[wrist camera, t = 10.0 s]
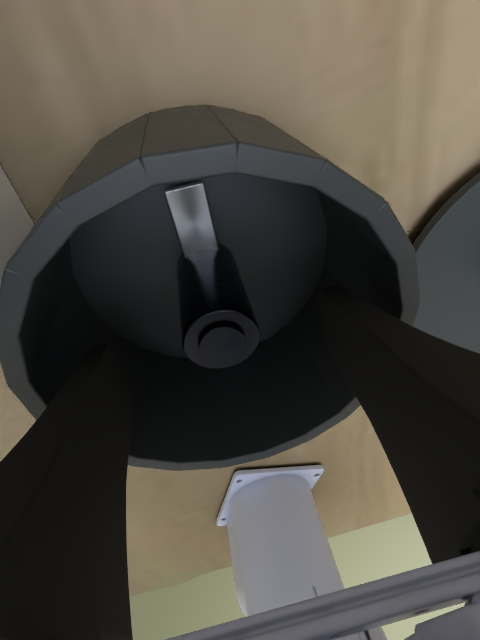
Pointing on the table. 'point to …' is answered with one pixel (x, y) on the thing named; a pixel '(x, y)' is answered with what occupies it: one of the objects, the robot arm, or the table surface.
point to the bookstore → (11, 221)
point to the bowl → (162, 286)
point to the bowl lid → (451, 270)
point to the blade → (209, 287)
